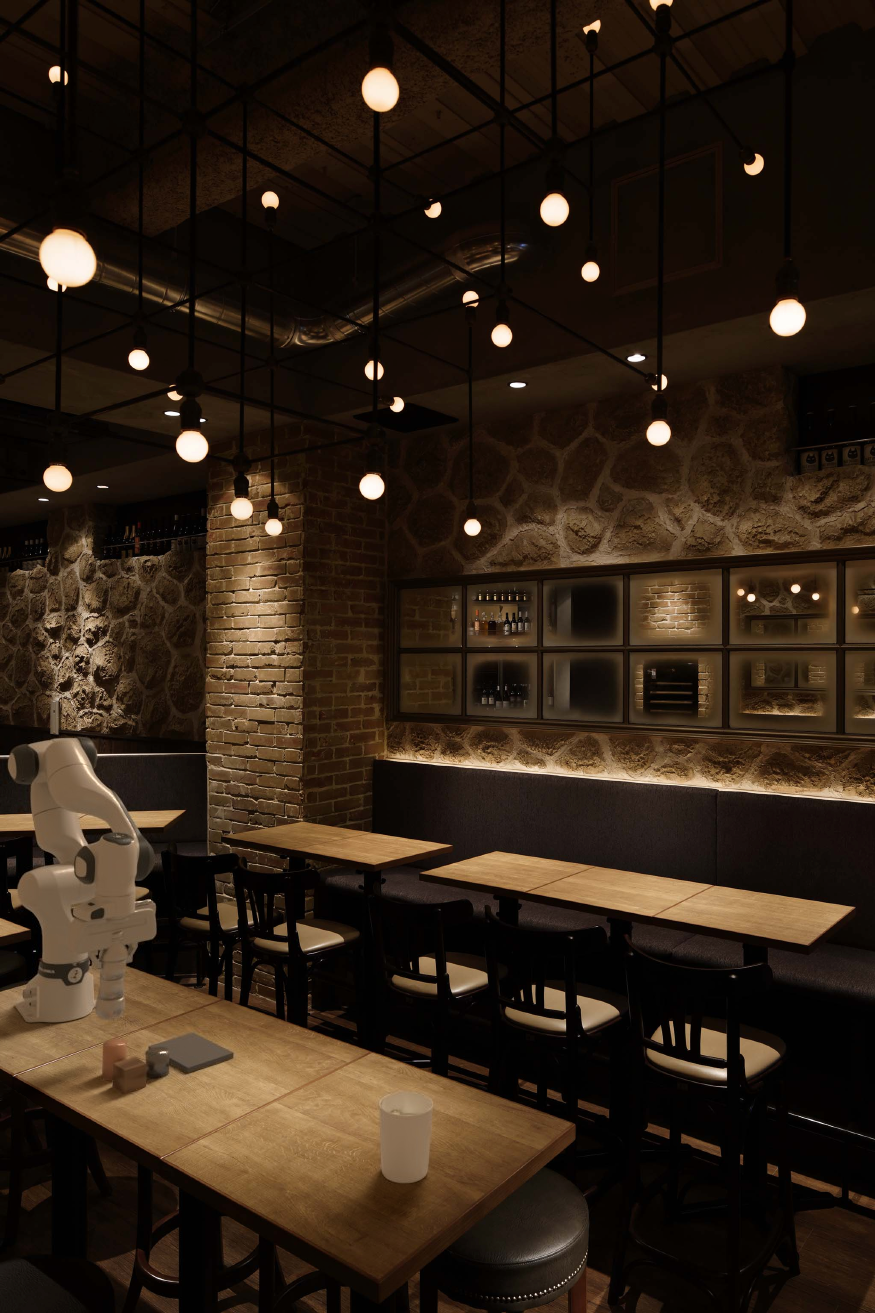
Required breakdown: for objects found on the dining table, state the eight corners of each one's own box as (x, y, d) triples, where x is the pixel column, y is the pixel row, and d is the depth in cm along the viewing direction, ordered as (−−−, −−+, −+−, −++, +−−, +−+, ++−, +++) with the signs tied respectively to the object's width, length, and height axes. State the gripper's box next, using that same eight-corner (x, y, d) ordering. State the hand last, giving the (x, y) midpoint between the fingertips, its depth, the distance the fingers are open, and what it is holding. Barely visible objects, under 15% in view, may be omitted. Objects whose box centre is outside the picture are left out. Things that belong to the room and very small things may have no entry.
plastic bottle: (129, 1012, 208) (135, 927, 207) (116, 1024, 201) (122, 937, 201) (102, 1009, 208) (108, 925, 208) (89, 1021, 202) (95, 934, 201)
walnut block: (112, 1087, 190) (113, 1063, 190) (133, 1080, 194) (134, 1056, 194) (124, 1094, 187) (125, 1070, 187) (145, 1087, 191) (146, 1063, 191)
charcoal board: (148, 1051, 209) (148, 1046, 209) (192, 1037, 218) (193, 1032, 218) (188, 1073, 198) (188, 1068, 198) (233, 1057, 206) (233, 1052, 207)
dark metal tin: (141, 1074, 197) (141, 1051, 197) (162, 1067, 200) (162, 1045, 201) (151, 1081, 193) (152, 1058, 194) (172, 1074, 197) (173, 1051, 197)
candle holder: (376, 1157, 164) (378, 1091, 164) (429, 1156, 165) (431, 1090, 165) (377, 1187, 154) (379, 1116, 155) (433, 1186, 155) (435, 1115, 155)
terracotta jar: (97, 1075, 196) (98, 1043, 196) (119, 1068, 199) (120, 1036, 200) (108, 1082, 192) (109, 1049, 192) (130, 1075, 196) (131, 1043, 196)
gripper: (149, 895, 215) (146, 953, 214) (66, 909, 200) (63, 971, 199) (162, 900, 210) (160, 959, 210) (79, 915, 195) (76, 978, 195)
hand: (112, 965), depth 204 cm, fingers closed on plastic bottle, 6 cm apart
